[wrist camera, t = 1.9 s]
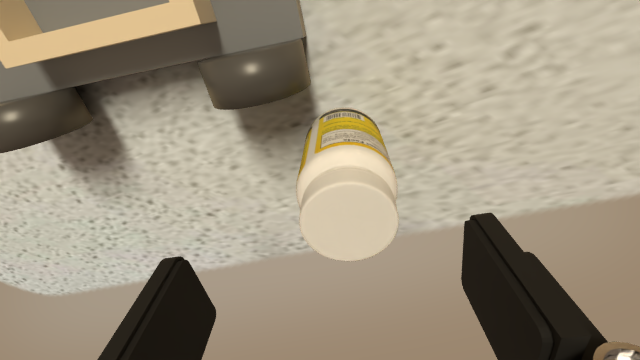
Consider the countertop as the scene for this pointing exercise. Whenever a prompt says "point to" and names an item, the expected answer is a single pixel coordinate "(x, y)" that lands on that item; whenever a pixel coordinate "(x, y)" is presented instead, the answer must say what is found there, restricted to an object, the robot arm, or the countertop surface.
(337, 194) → the supplement bottle
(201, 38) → the toy chassis
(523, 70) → the countertop surface
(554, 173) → the countertop surface
